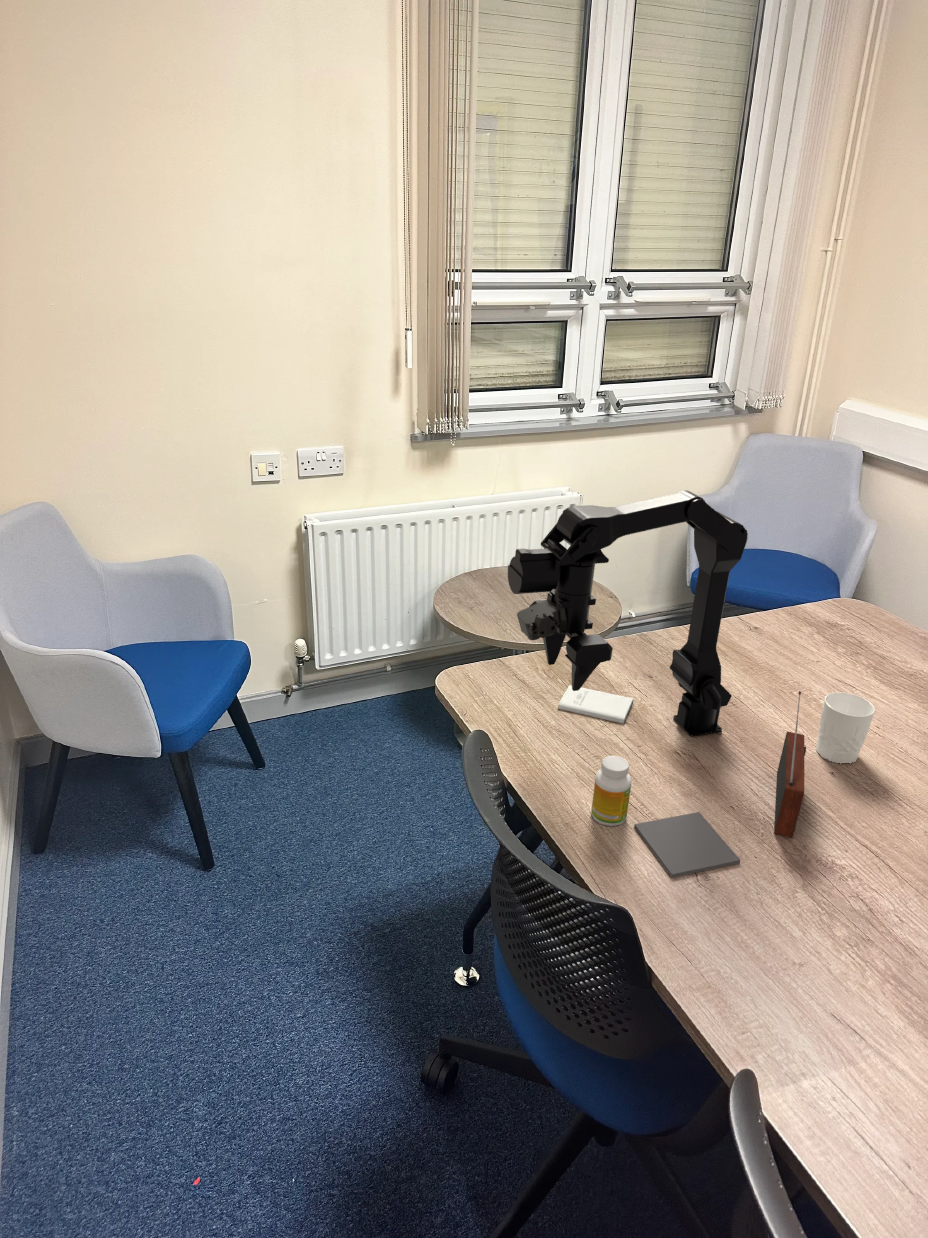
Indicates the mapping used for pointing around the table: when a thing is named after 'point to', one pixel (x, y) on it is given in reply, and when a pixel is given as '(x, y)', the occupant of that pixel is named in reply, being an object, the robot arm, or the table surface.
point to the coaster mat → (686, 844)
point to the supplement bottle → (611, 791)
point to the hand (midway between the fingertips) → (562, 677)
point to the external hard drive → (596, 704)
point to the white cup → (843, 726)
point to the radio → (790, 783)
